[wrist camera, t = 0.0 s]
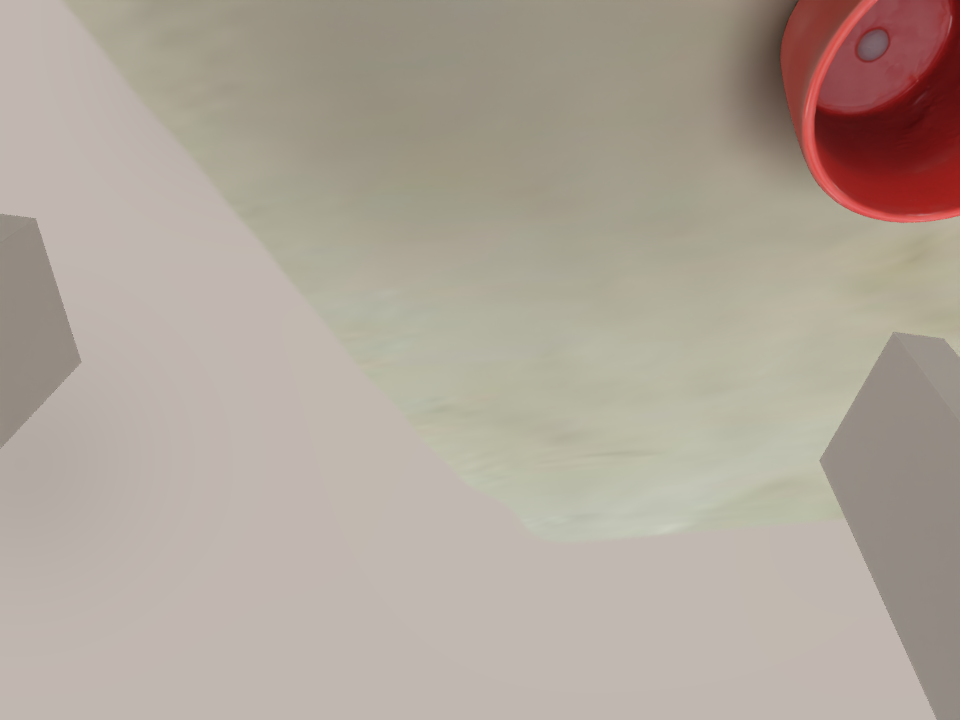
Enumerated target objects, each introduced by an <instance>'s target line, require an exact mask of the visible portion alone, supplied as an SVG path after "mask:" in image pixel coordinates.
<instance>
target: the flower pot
mask: <svg viewBox="0 0 960 720" xmlns="http://www.w3.org/2000/svg"><path fill="white" fill-rule="evenodd" d="M780 62H781V71H782V77H783V82H784V89H785V93H786V98H787V103H788V107H789V111H790V114H791V118H792V121H793V125H794V128H795V132H796V135H797V138H798V141H799V144H800V147H801V150H802V153H803V156H804V159H805V161H806V163H807V166H808V168H809V170H810V172H811V174H812V176H813V177H814V179H815V181H816V182H817V183H818V185H819V186H820V187H821V188H822V189H823V191H824V192H825V193H826V194H828V195H829V196H830V197H831V198H832V199H833V200H834V201H836V202H837V203H839V204H840V205H842V206H843V207H845V208H847V209H849V210H851V211H853V212H855V213H858V214H860V215H863V216H866V217H870V218H874V219H878V220H883V221H889V222H900V223H907V222H927V221H935V220H941V219H947V218H951V217H956V216H960V0H799V1H798V3H797V4H796V6H795V8H794V10H793V12H792V14H791V15H790V18H789V20H788V22H787V25H786V28H785V31H784V35H783V39H782V43H781V53H780Z"/></svg>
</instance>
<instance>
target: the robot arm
mask: <svg viewBox="0 0 960 720" xmlns="http://www.w3.org/2000/svg"><path fill="white" fill-rule="evenodd" d="M80 363H81V359H80V356H79V354H78V350H77V347H76V344H75V341H74V337H73V334H72V332H71V328H70V325H69V322H68V319H67V315H66V312H65V309H64V307H63V303H62V300H61V297H60V294H59V291H58V287H57V284H56V281H55V278H54V275H53V272H52V268H51V265H50V262H49V259H48V256H47V253H46V250H45V246H44V243H43V240H42V237H41V234H40V231H39V228H38V224H37V221H36V219H35V218H28V217H20V216H12V215H5V214H0V448H1V447H2V446H3V445H4V444H5V443H6V442H7V441H8V440H9V439H10V438H11V437H12V436H13V435H14V433H15V432H16V431H17V430H18V429H19V428H20V427H21V426H22V425H23V424H24V423H25V422H26V421H27V419H29V417H30V416H31V415H32V414H33V413H34V412H35V411H36V410H37V409H38V408H39V407H40V406H41V405H42V404H43V402H44V401H45V400H46V399H47V398H48V397H49V396H50V395H51V394H52V393H53V392H54V391H55V390H56V389H57V388H58V386H59V385H60V384H61V383H62V382H63V381H64V380H65V379H66V378H67V377H68V376H69V375H70V374H71V372H73V371H74V370H75V368H76V367H77V366H78V365H79V364H80ZM820 463H821V465H822V467H823V469H824V472H825V474H826V476H827V478H828V480H829V483H830V485H831V487H832V489H833V491H834V494H835V496H836V498H837V500H838V502H839V505H840V507H841V509H842V511H843V514H844V516H845V518H846V520H847V522H848V525H849V527H850V529H851V531H852V533H853V536H854V538H855V540H856V542H857V544H858V546H859V549H860V551H861V553H862V556H863V558H864V560H865V562H866V564H867V567H868V569H869V571H870V573H871V575H872V578H873V580H874V582H875V584H876V586H877V589H878V591H879V593H880V595H881V597H882V600H883V602H884V604H885V606H886V609H887V611H888V613H889V615H890V617H891V620H892V622H893V624H894V626H895V628H896V630H897V633H898V635H899V637H900V639H901V642H902V644H903V646H904V648H905V650H906V653H907V655H908V657H909V659H910V661H911V664H912V666H913V668H914V670H915V672H916V675H917V677H918V679H919V681H920V684H921V686H922V688H923V690H924V692H925V695H926V696H927V699H928V701H929V704H930V706H931V708H932V710H933V712H934V715H935V717H936V719H937V720H960V358H959V356H958V355H957V354H956V353H955V352H954V350H953V349H952V348H951V347H950V346H949V344H948V343H947V342H946V341H945V339H942V338H935V337H927V336H920V335H912V334H905V333H897V332H893V334H892V335H891V337H890V339H889V341H888V342H887V344H886V346H885V348H884V349H883V351H882V353H881V355H880V356H879V358H878V360H877V362H876V363H875V365H874V367H873V368H872V370H871V372H870V374H869V375H868V377H867V379H866V381H865V382H864V384H863V386H862V388H861V389H860V391H859V393H858V395H857V396H856V398H855V400H854V402H853V403H852V405H851V407H850V408H849V410H848V412H847V414H846V415H845V417H844V419H843V421H842V422H841V424H840V426H839V428H838V429H837V431H836V433H835V435H834V436H833V438H832V440H831V442H830V443H829V445H828V447H827V448H826V450H825V452H824V454H823V455H822V457H821V459H820Z"/></svg>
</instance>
